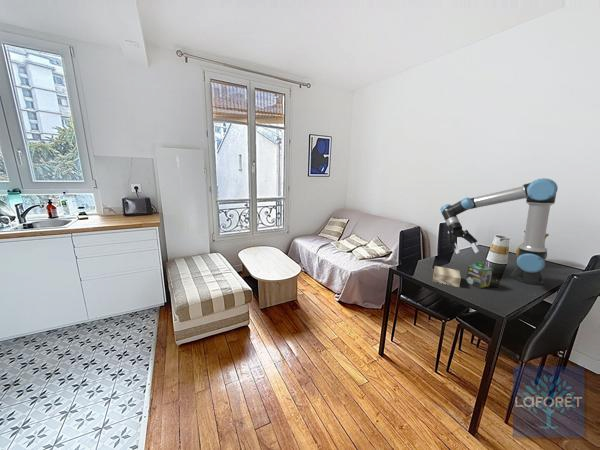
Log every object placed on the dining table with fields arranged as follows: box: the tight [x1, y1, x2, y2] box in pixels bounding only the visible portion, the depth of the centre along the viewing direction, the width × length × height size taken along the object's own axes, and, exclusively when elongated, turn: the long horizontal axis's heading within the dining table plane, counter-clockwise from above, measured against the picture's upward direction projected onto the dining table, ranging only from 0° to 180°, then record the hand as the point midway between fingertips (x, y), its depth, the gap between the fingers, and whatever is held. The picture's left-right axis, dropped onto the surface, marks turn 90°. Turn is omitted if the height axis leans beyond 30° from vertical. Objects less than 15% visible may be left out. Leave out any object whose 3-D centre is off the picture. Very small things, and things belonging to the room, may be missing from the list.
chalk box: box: [465, 260, 493, 289], centre depth 148 cm, size 9×9×15 cm
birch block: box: [432, 265, 462, 288], centre depth 154 cm, size 14×14×6 cm
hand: (467, 252), depth 156 cm, fingers open, 13 cm apart
